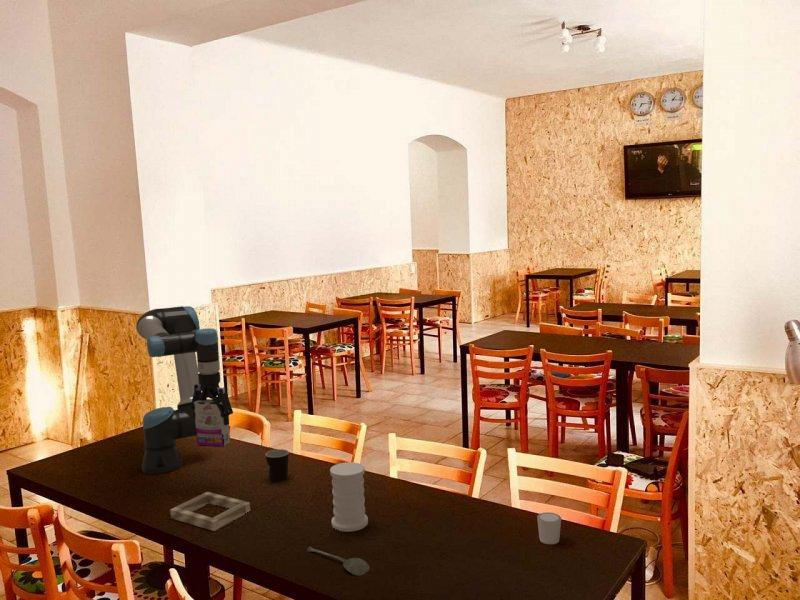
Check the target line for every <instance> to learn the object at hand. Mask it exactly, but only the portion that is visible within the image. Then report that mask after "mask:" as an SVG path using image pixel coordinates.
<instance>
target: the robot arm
mask: <svg viewBox="0 0 800 600" xmlns="http://www.w3.org/2000/svg"><path fill="white" fill-rule="evenodd" d="M135 328H136V331H137V333H138V335H139V336H140V337H141V338H142V339H144V340H146V348H147V354H148V356H149V357H150V358H161V357H167V356H169V357H170V356H173V358H174V364H175V371H176V373H175V374H176V379H177V385H178V387H177V388H178V392H179V399H180V400H179V402H178V403H177V405H176V406H177V409H174V407H172V406H166V407H165V406H164V407H158V408H155V409H152V410H149V411H148V412H146V413H145V414H144V415H143V417H142V428H143V438H144V440H143V441H144V454H143V459H142V463H141V471H142V472H143V473H145V474H147V475H161V474H166V473H170V472H174V471H176V470H178V469H180V468H181V467H182V465H183V459H182V457H181V453H180V452H179V450H178V446H177V443H176V442H177V440H180V439H186V438H190V437H192V438H193V437H196V424H195V411H194V402H196V401H198V400H201V401H202V400H205V399H208V398H209V399H212V400H213V401H215V403H216V405H217V407H218V409H219V410H220V412H221V414H222V416H221V430H222V434H223V435H224V434H226V433H228V432H229V430H230V415H233V414H234V410H233V408H232V405H231V402H230V399H229V396H228V393H227V388H226V387H225V386H224V387H220V382H221V373H220V370H221V368H220V355H219V354H220V353H219V337H218V331H217V330H216V329H215V328H211V327H210V328H201V326H200V320H199V316H198V314H197V312H196V309H195V308H194V307H193V306H191V305H190V306H189V305H186V306H183V305H181V306H172V307H163V308H154V309H150V310H148V311H146V312H145V313H143V314H142V315H141V316H140V317H139V318H138V319H137V322H136V327H135ZM220 402H222V406H221V405H220V404H219V403H220ZM224 412H225V413H224ZM228 424H229V426H228Z"/></svg>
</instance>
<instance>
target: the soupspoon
mask: <svg viewBox="0 0 800 600" xmlns="http://www.w3.org/2000/svg"><path fill="white" fill-rule="evenodd" d="M307 552H309V553H310V552H311V553H312V552H313V553H319V554H322V555H324V556H327V557H331V558H333V559H335V560H339V561H340V562H342V566H343V568H344V569H345V570H346V571H348V572H349V573H350V574H351V575H353V576H358V577H359V576H362V575H364V574H366V573H368V572H369V571H370V568H371V567H370V565H369V563H368V562H367V561H366V560H365V559H363V558H359V557H351V558H348V559H346V558H343V557H340V556H338V555H334V554H332V553H327V552H326V551H322V550H319V549H318V548H316V549H315V548H314V547H312V546H309V547H308V548H307Z"/></svg>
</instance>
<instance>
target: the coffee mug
mask: <svg viewBox="0 0 800 600" xmlns="http://www.w3.org/2000/svg"><path fill="white" fill-rule="evenodd" d="M264 454H265V460H266V465H267V471H268V476H269V481H270V482H272V483H282V481H283V482H284V481H287V480H288V470H289V469H288V468H289V456H290V455H289V454H290V452H289V450H288V449H283V448H282V449H281V448H277V449H273V450H269V451H267V452H266V453H264ZM286 479H287V480H286Z"/></svg>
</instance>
